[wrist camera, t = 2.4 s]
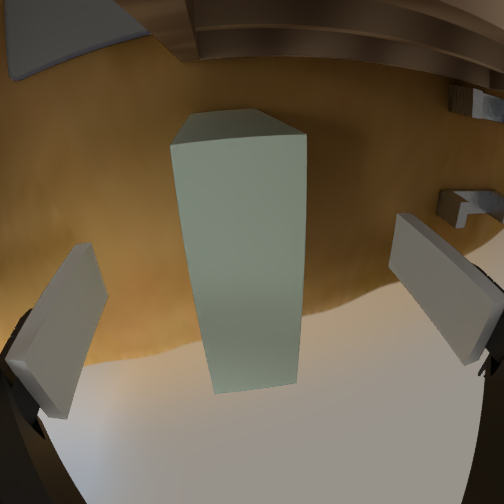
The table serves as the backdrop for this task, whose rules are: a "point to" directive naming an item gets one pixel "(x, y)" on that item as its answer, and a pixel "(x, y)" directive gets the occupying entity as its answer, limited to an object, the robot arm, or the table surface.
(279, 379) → the pale green square block
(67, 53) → the smartphone
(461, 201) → the hinge clips
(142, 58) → the table surface
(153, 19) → the cabinet
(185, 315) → the table surface
